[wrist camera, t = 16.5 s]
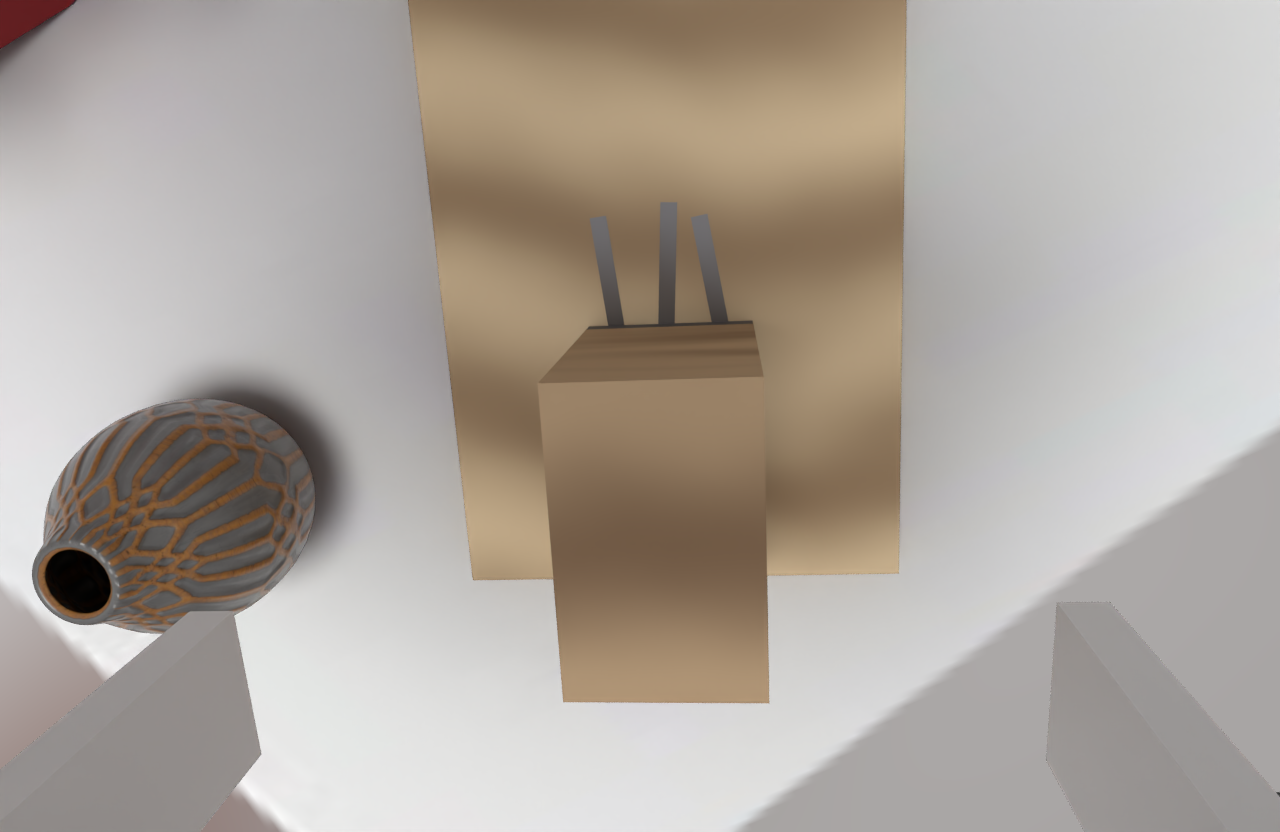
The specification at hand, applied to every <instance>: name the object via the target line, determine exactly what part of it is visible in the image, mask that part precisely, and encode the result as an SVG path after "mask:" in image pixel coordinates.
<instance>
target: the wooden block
mask: <svg viewBox="0 0 1280 832" xmlns="http://www.w3.org/2000/svg"><path fill="white" fill-rule="evenodd" d="M538 395H539V408H540V420H541V432H542V445H543V457H544V469H545V482H546V494H547V506H548V519H549V531H550V544H551V556H552V568H553V581H554V593H555V605H556V618H557V630H558V642H559V655H560V667H561V680H562V692H563V702H645V703H769V662H768V602H767V541H766V480H765V420H764V375H763V370H762V365H761V360H760V355H759V350H758V345H757V340H756V335H755V330H754V325H753V320H752V321H725V322H697V323H670V324H643V325H615V326H589V327H588V328H587V329H586V330H585V332H584V333H583V334H582V335H581V336H580V337H579V338H578V339H577V340H576V342H575V343H574V344H573V345H572V346H571V347H570V348H569V349H568V350H567V351H566V353H565V354H564V355H563V356H562V357H561V358H560V359H559V360H558V361H557V363H556V364H555V365H554V366H553V367H552V368H551V369H550V370H549V371H548V373H547V374H546V375H545V376H544V377H543V378H542V379H541V380H540V381H539V382H538Z"/></svg>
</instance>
